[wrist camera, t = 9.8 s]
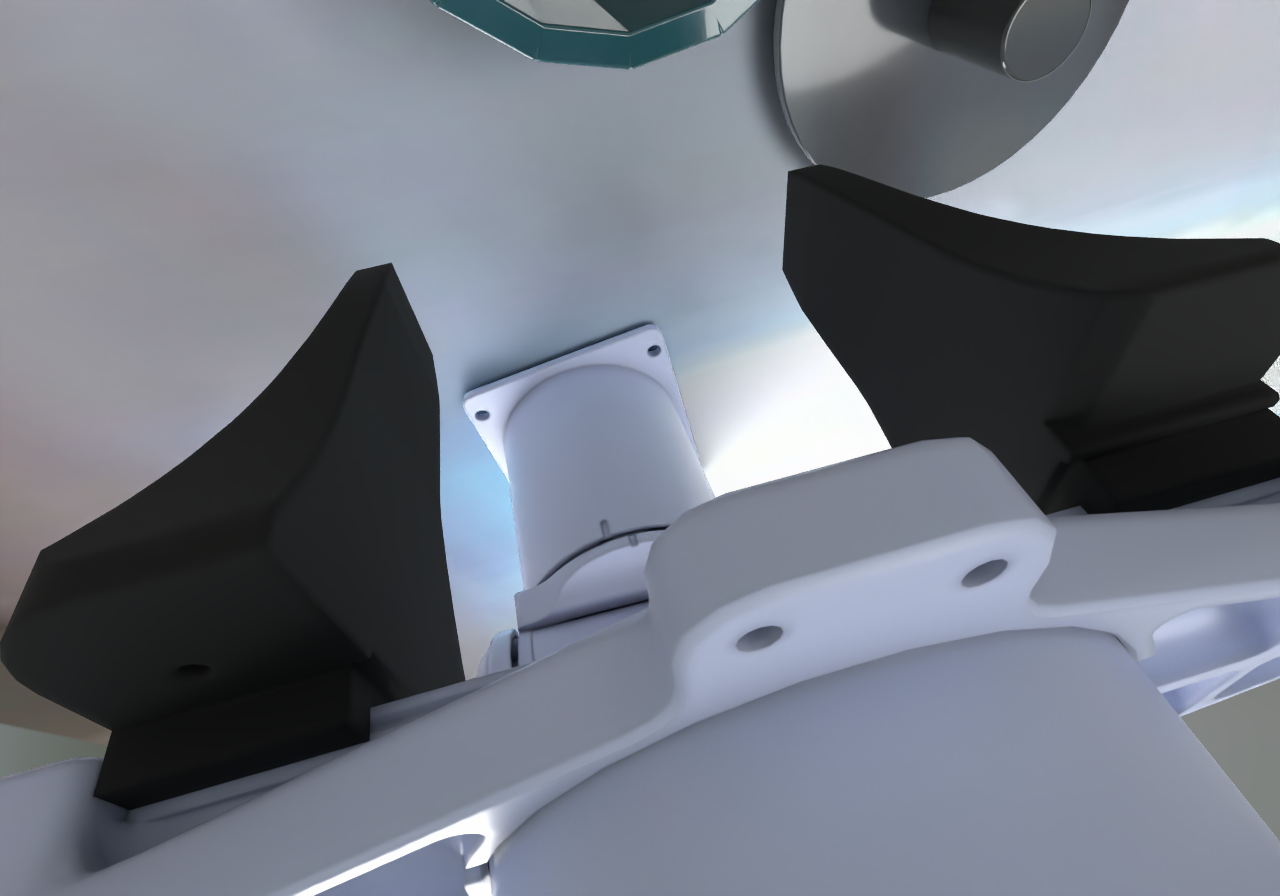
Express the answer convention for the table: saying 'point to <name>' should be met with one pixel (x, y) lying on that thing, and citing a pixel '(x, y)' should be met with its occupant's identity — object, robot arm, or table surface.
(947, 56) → the grey pot lid
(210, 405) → the table surface
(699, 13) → the cup
